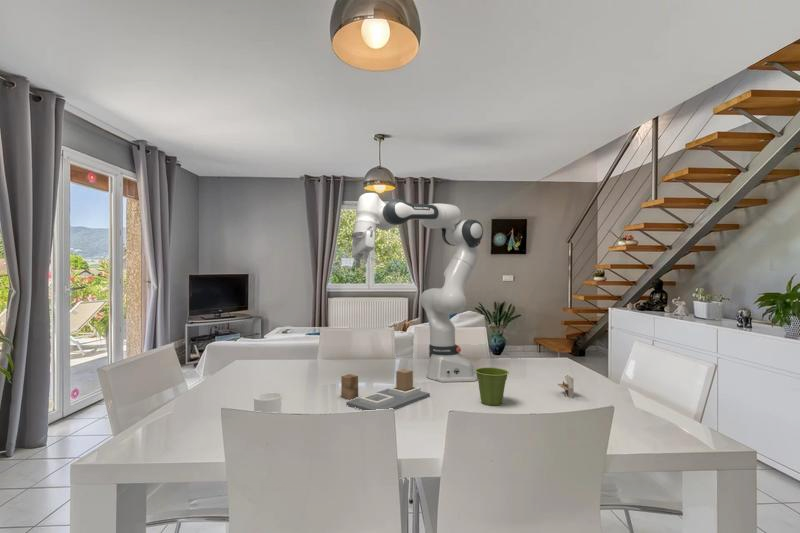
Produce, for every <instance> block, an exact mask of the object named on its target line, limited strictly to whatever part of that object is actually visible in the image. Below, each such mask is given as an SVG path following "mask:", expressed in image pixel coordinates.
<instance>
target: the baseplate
mask: <svg viewBox="0 0 800 533" xmlns="http://www.w3.org/2000/svg"><path fill="white" fill-rule="evenodd" d="M395 372H396V373H395V374H396V376H395V378H396V382H395V383H396V385H395V386H393V387H389V388H386V389H383V390H379V391H377V392H373V393H370V394H368V395H364V396H361V397H358V398H355V399H352V400H347V401H346V403H345V404H346V406H347V405H348V406H347V407H350V406H352V407H351V408H353V407H356V408H359V409H358V410H360V409H362V410H361V411H363V410H376V409H389V408H393V409H395V410H398V409H400V408H403V407H406V406H408V405H411V404H414V403H417V402H418V401H422V400H424V399H427V398H430V397H431V396H430V395H431V393H430V392H425V391H421V387H418V386H414V376H413V375H414V370H411V369H406V368H403V369H398V370H396V371H395ZM356 408H355V409H356Z"/></svg>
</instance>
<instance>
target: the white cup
mask: <svg viewBox="0 0 800 533" xmlns="http://www.w3.org/2000/svg"><path fill="white" fill-rule="evenodd" d="M282 396H283V395H282V393H279V392H275V391H274V392H272V391H271V392H262V393H258V394H256V395H254V396H253V409H254V410H253V411H261V412H278V413H281V414H282Z"/></svg>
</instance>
